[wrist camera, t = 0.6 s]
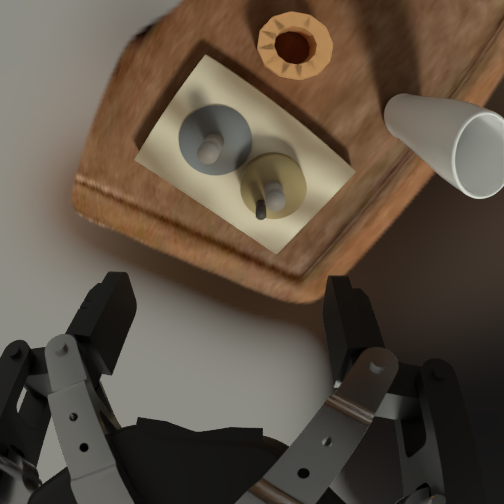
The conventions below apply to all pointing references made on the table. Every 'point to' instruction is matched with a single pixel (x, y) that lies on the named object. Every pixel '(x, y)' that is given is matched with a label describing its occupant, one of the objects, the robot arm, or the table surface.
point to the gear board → (243, 156)
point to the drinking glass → (452, 140)
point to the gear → (310, 31)
